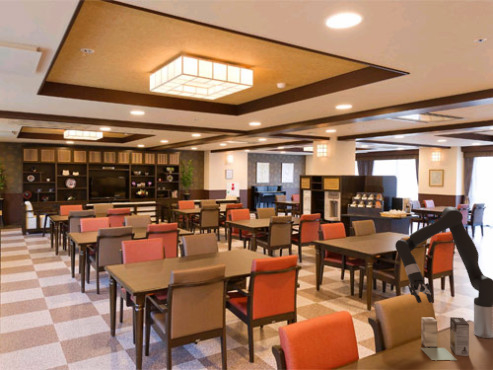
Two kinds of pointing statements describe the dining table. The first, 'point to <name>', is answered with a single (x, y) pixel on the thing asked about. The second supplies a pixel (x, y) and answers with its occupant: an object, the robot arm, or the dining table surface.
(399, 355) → the dining table surface
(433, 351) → the mat
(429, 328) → the maple block
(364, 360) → the dining table surface
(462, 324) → the coffee box
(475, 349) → the dining table surface
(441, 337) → the dining table surface
